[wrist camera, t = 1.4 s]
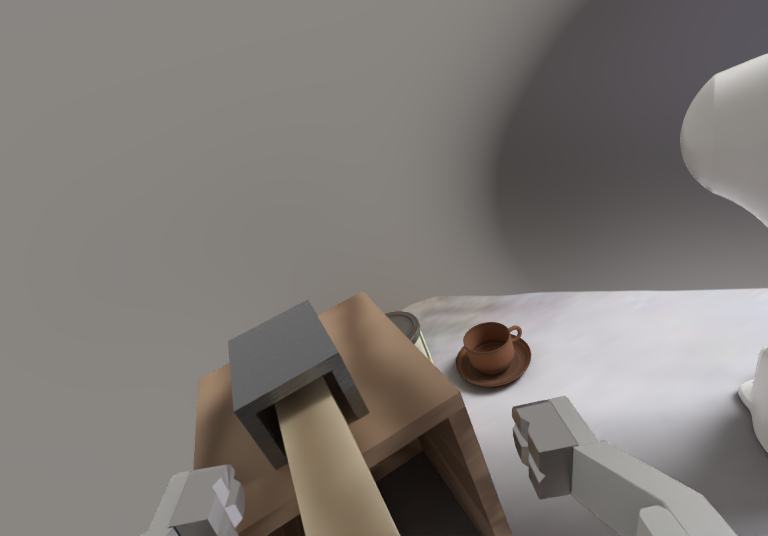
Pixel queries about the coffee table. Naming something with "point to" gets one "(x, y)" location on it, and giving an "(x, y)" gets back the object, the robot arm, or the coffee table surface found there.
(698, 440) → the coffee table surface
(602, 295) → the coffee table surface
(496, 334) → the cup and saucer
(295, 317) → the metal tunnel
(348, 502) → the beech bar
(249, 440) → the brown tall wooden box
